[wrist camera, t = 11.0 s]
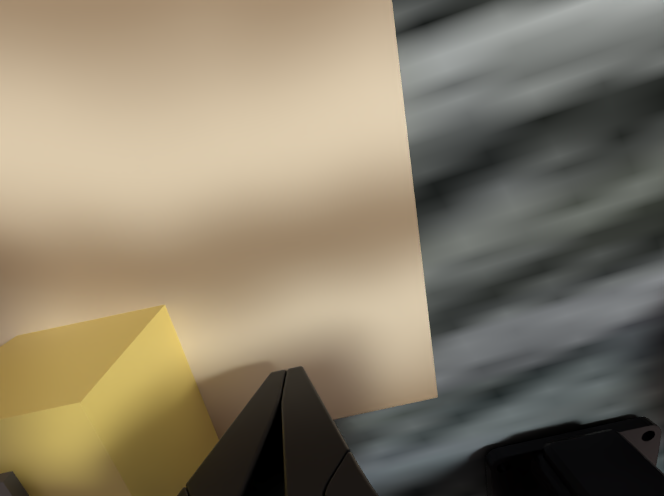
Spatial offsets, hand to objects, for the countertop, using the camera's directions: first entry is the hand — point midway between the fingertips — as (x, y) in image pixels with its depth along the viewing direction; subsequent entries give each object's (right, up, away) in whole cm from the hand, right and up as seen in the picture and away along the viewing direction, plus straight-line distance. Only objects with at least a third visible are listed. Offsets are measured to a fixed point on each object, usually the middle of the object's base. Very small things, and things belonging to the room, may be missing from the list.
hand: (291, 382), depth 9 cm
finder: (-5, -1, +1) cm, 5 cm away
